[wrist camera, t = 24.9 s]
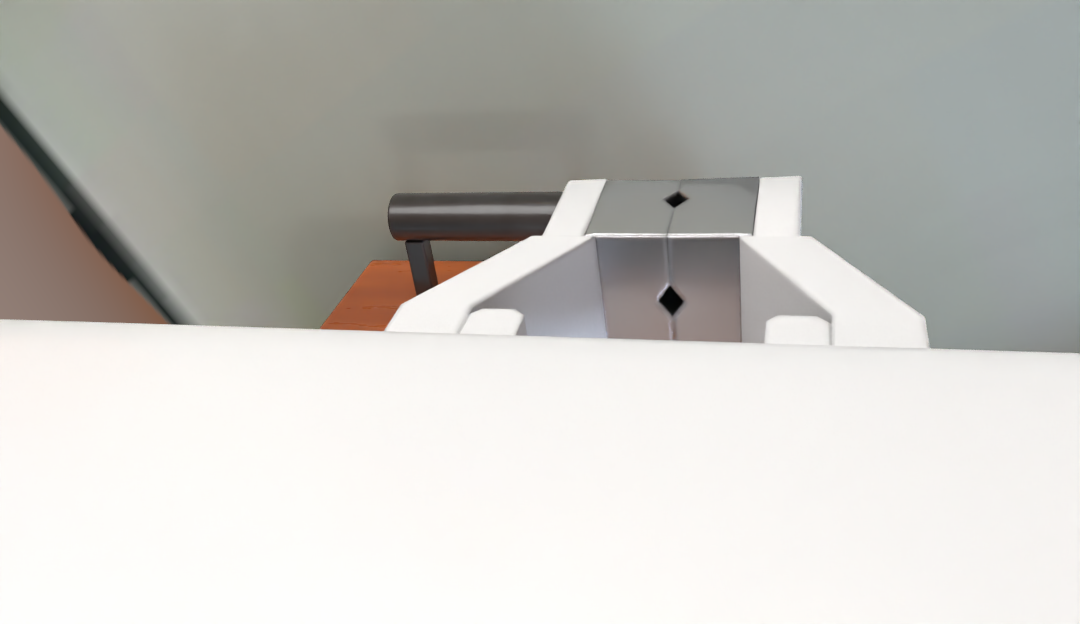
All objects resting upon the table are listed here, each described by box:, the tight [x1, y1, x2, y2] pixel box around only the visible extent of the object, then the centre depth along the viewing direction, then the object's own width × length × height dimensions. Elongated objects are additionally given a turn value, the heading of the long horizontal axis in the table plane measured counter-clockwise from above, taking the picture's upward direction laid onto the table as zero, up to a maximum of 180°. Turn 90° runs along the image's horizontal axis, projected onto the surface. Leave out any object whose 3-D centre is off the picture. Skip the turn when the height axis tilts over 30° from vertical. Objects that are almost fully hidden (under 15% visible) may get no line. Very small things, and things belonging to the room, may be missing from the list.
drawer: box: [320, 192, 563, 331], centre depth 32 cm, size 19×13×7 cm
